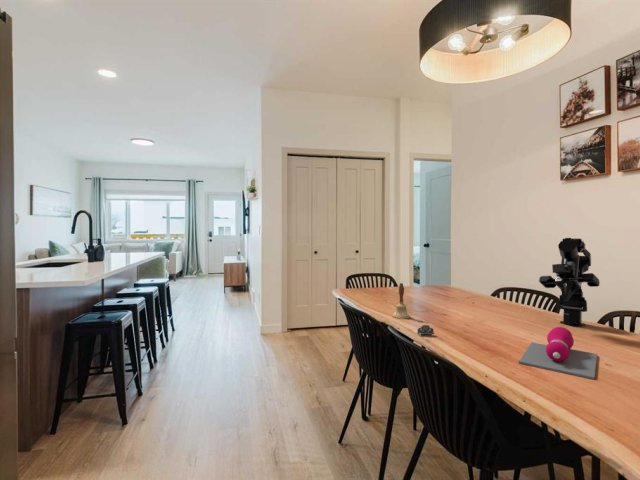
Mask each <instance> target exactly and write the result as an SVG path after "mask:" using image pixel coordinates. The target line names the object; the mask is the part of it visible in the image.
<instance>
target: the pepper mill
mask: <svg viewBox="0 0 640 480" xmlns="http://www.w3.org/2000/svg"><path fill="white" fill-rule="evenodd" d="M546 340H547V343H548V344H546V345H547V346H546V353H547V355H548V357H549V358H550V359H552V360H554V361H557V362H563V361H565V360H567V359H568V358H569V355H570V352H569V349H572V348H573V346H574V342H575V339H574V337H573V334H572V332H571V331H570V330H569V329H568V328H566V327H563V326H556V327H553V328H552V329H551V330H550V331H549V332H548V333H547V336H546Z"/></svg>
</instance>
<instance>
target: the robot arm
mask: <svg viewBox="0 0 640 480" xmlns="http://www.w3.org/2000/svg"><path fill="white" fill-rule="evenodd" d="M557 246H558V252H559V254H560V257H561V262H560V263H557V264H556V263H555V264H552V267H551V268H552V273H553V274H555V276H556V277H555V278H553V277H552V275H541V276H540V277H539V279H538V282H539V283H540V284H541V285H542V286H543V287H544V288H545V289H554V288H556V287H557V288H559V289H560V291H561V294H559V297H558V299H559V300H558V301H559V310H563V313H562V315H563V316H562V318H563V320H561V321H559V323H560V324H564V325H568V326H572V327H580V326H581V327H582V326H586V323H583V322H582V321H583V320H582V315H583V314H582V313H585V312H588V302H587V300H586V297H584V292H583V289H582V283H586V285H587V286H589V287H591V288H592V287H595V288H596V287H599V286H600V279H599V278H598V276H596V274H594V273H593V272H590V273H589V272H588V271H589V269H590V267H591V266H592V256H591V252H590V251H589V250H588V249H587V248H586V243H585V242H584V240H583V239H582V238H571V237H565V238H562V239H561V241H560V242H559V243H558V245H557ZM579 253H580V254H581V253H582V254H583V255H579ZM586 272H588V273H586Z"/></svg>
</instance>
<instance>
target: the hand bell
mask: <svg viewBox="0 0 640 480" xmlns="http://www.w3.org/2000/svg"><path fill="white" fill-rule="evenodd" d="M404 294H405V286H404V283H403V282H400V283H399V286H398V295H399V303H398V304H396V307H395V311H394V313H393V314H392V315H393V316H394V317H393V316H392V317H393V318H395V317H396V318H395V319H400V318H406V319H409V317H410V318H411V315H410V314H409V313H408V310H407V305H406V304H404Z"/></svg>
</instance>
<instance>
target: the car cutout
mask: <svg viewBox="0 0 640 480" xmlns="http://www.w3.org/2000/svg"><path fill="white" fill-rule="evenodd" d="M416 334H417V335H418V336H419V337H421V336H431V337H434V336H433V335H435V331H434V328H433V327H430V325H427V324H425V325H424V324H423V325H421V326H420V327H418V328H417V332H416Z"/></svg>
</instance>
